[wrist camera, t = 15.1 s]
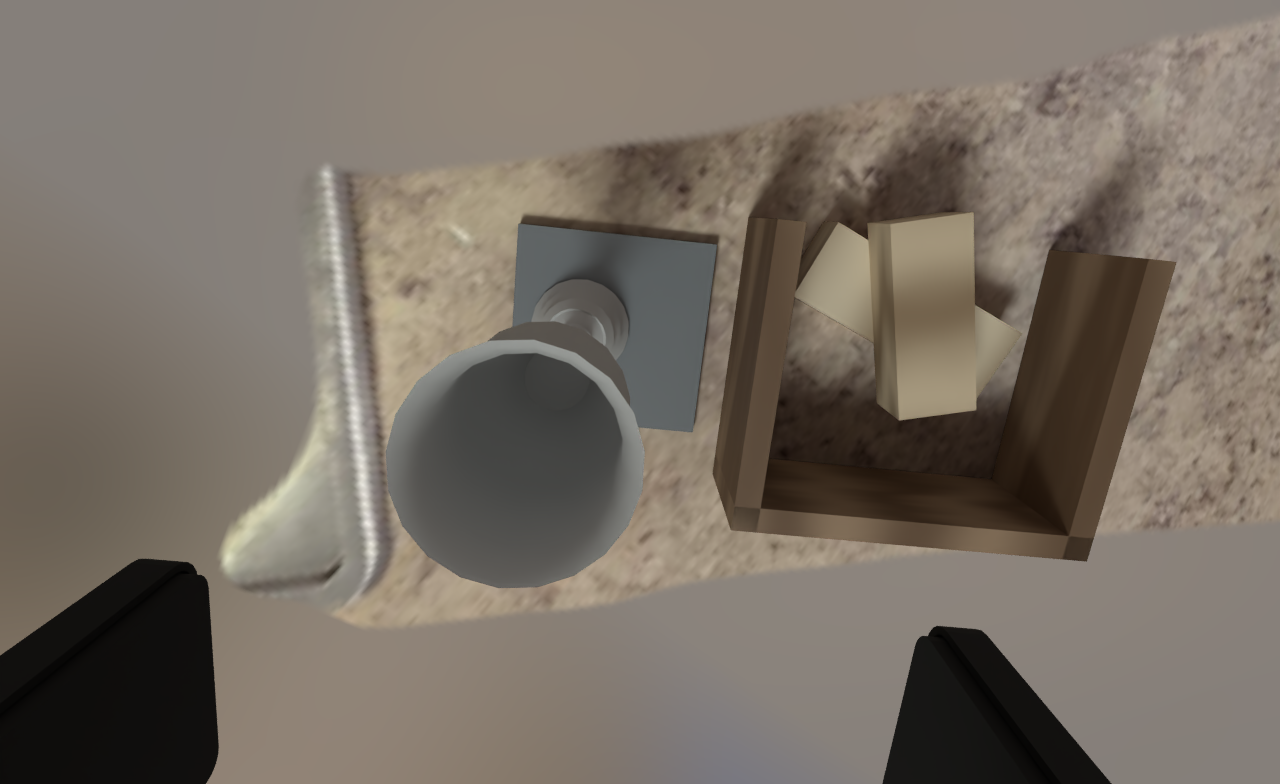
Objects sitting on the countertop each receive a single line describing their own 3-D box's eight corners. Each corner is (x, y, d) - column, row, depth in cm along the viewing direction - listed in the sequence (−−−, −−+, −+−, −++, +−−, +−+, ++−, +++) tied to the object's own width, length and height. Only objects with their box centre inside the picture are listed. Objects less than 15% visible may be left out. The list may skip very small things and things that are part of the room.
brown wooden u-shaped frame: (1071, 252, 36) (1176, 262, 29) (1007, 500, 39) (1086, 561, 32) (748, 217, 35) (777, 219, 28) (712, 473, 38) (731, 530, 32)
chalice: (551, 232, 34) (451, 289, 17) (671, 296, 35) (694, 412, 18) (491, 359, 36) (346, 525, 19) (606, 416, 37) (569, 626, 20)
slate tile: (715, 244, 35) (717, 244, 34) (691, 428, 38) (692, 432, 37) (520, 223, 35) (518, 223, 34) (509, 411, 37) (507, 414, 37)
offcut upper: (947, 393, 35) (976, 410, 32) (876, 403, 35) (898, 420, 32) (943, 212, 32) (973, 212, 30) (867, 222, 33) (890, 224, 30)
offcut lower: (991, 324, 37) (1022, 333, 34) (948, 386, 38) (974, 401, 35) (821, 221, 35) (838, 222, 33) (780, 289, 36) (793, 295, 33)
